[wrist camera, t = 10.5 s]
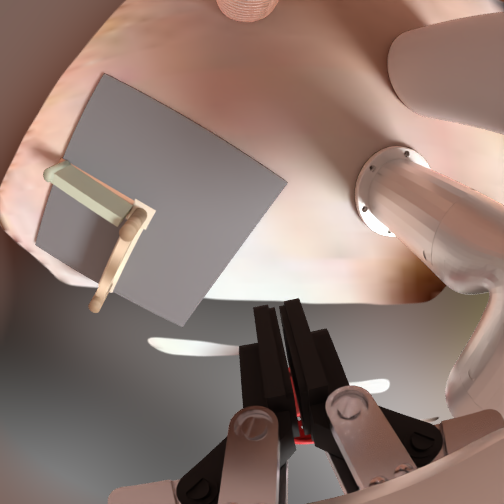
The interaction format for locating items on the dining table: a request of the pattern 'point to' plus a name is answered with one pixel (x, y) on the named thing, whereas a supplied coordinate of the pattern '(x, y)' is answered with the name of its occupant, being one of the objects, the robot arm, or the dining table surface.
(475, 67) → the cylinder vase
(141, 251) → the board
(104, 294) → the fence fixed
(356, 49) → the dining table surface
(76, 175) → the bar
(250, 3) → the water bottle
